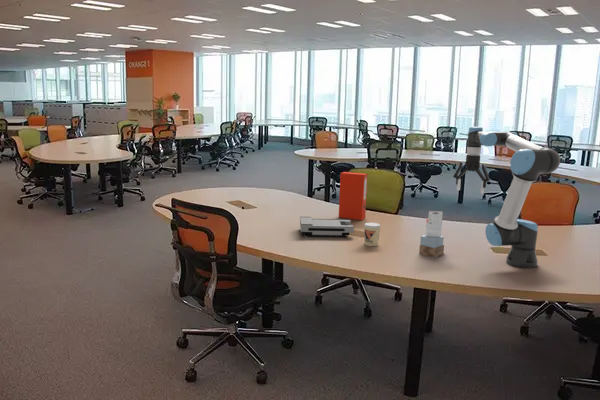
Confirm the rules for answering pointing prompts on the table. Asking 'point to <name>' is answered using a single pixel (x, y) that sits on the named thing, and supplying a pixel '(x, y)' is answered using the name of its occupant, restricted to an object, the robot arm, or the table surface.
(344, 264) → the table surface
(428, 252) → the walnut base block
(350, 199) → the file binder
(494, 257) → the table surface
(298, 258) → the table surface
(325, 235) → the game console
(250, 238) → the table surface
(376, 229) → the coffee cup
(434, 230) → the ink box
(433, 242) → the grey-blue top block
